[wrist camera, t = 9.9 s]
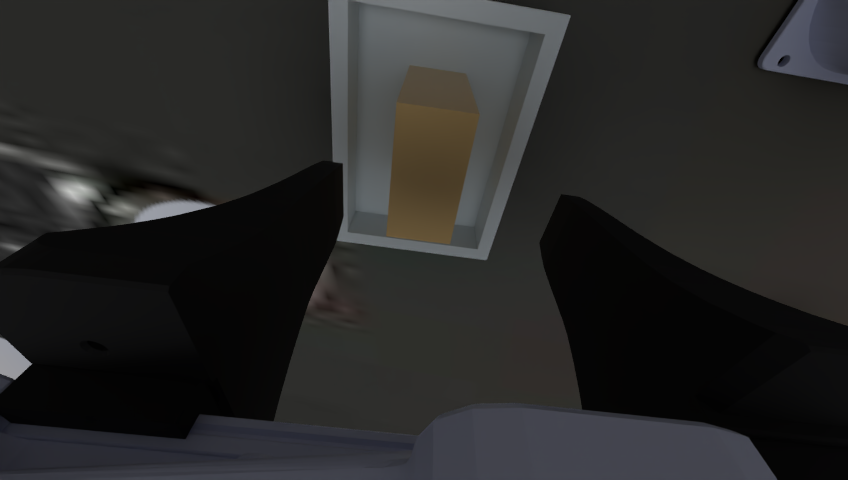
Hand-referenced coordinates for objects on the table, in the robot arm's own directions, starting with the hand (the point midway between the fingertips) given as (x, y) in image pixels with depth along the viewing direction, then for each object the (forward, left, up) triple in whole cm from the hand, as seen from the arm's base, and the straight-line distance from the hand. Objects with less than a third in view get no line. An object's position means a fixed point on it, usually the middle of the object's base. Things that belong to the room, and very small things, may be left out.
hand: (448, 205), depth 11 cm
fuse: (+1, +1, -10) cm, 10 cm away
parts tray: (+1, +1, -10) cm, 10 cm away
